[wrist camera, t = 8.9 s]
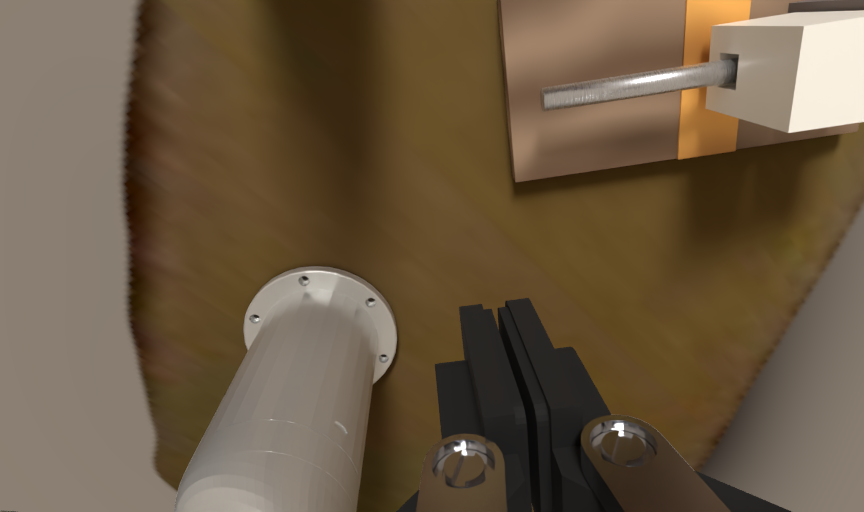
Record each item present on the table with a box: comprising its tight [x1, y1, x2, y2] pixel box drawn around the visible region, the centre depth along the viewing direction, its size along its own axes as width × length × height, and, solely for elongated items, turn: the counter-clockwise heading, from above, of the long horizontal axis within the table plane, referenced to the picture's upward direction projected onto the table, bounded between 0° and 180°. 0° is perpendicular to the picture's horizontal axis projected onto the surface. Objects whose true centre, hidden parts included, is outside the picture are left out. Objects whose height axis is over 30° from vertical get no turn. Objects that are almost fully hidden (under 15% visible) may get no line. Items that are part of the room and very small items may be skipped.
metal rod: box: [540, 57, 739, 112], centre depth 30 cm, size 1×16×1 cm, turn 99°
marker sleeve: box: [705, 10, 864, 133], centre depth 28 cm, size 5×5×8 cm
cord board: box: [497, 0, 859, 182], centre depth 34 cm, size 12×24×2 cm, turn 98°
